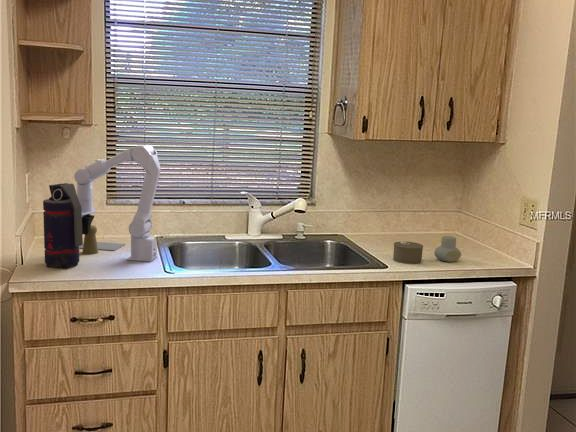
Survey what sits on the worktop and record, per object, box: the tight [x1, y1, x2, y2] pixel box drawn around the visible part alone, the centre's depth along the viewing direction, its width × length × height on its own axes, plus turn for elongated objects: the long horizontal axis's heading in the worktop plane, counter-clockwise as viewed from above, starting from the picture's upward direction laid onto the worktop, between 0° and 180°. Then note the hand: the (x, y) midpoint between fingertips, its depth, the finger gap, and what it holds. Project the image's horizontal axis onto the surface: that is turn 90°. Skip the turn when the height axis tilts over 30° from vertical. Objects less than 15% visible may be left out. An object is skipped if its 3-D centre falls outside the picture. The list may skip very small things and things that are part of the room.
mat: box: [79, 241, 126, 252], centre depth 253 cm, size 16×12×1 cm
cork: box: [82, 224, 99, 255], centre depth 242 cm, size 6×6×11 cm
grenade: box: [42, 182, 84, 270], centre depth 219 cm, size 14×12×30 cm
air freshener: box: [433, 235, 462, 263], centre depth 255 cm, size 11×8×10 cm
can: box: [392, 241, 424, 265], centre depth 252 cm, size 12×12×7 cm
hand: (85, 234), depth 237 cm, fingers closed
